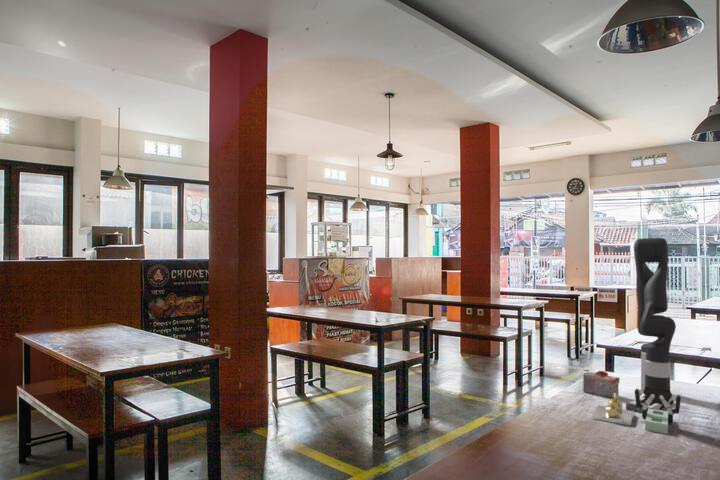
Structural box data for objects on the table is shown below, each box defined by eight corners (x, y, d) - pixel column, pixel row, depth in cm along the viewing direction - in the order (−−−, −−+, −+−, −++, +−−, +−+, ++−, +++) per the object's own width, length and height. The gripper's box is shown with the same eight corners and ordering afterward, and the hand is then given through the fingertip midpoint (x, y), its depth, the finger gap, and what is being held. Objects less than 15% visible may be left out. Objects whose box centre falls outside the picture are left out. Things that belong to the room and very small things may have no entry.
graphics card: (625, 402, 187) (649, 390, 203) (625, 411, 187) (649, 398, 203) (655, 409, 179) (677, 396, 196) (655, 418, 179) (677, 404, 196)
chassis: (598, 409, 187) (598, 389, 187) (634, 415, 181) (634, 394, 181) (592, 418, 176) (592, 397, 176) (630, 425, 169) (630, 404, 170)
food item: (622, 396, 205) (622, 372, 205) (614, 400, 199) (614, 375, 199) (588, 389, 215) (588, 366, 215) (580, 392, 209) (580, 369, 210)
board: (648, 416, 179) (648, 408, 179) (669, 420, 176) (669, 411, 176) (645, 429, 166) (645, 420, 166) (667, 433, 162) (667, 424, 163)
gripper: (682, 374, 170) (682, 423, 170) (634, 368, 178) (634, 415, 178) (682, 379, 164) (682, 430, 164) (632, 373, 172) (632, 421, 172)
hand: (657, 422), depth 171 cm, fingers closed on board, 6 cm apart
